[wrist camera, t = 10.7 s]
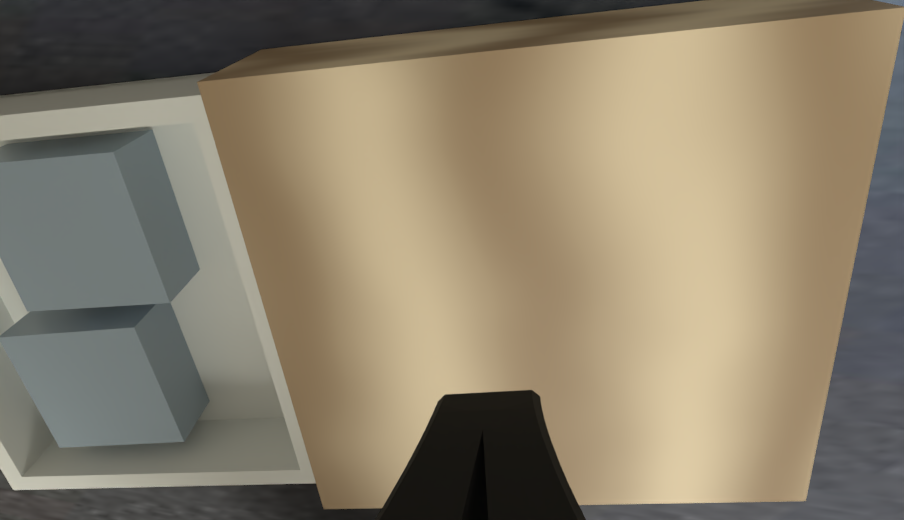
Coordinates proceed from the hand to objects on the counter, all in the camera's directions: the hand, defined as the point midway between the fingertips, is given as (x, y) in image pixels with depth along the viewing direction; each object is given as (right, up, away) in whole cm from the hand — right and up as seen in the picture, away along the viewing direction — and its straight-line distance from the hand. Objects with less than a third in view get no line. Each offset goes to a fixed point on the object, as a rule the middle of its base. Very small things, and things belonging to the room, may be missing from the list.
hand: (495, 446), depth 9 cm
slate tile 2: (-12, -1, +11) cm, 16 cm away
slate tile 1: (-11, +3, +8) cm, 14 cm away
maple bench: (+2, +3, +10) cm, 11 cm away
